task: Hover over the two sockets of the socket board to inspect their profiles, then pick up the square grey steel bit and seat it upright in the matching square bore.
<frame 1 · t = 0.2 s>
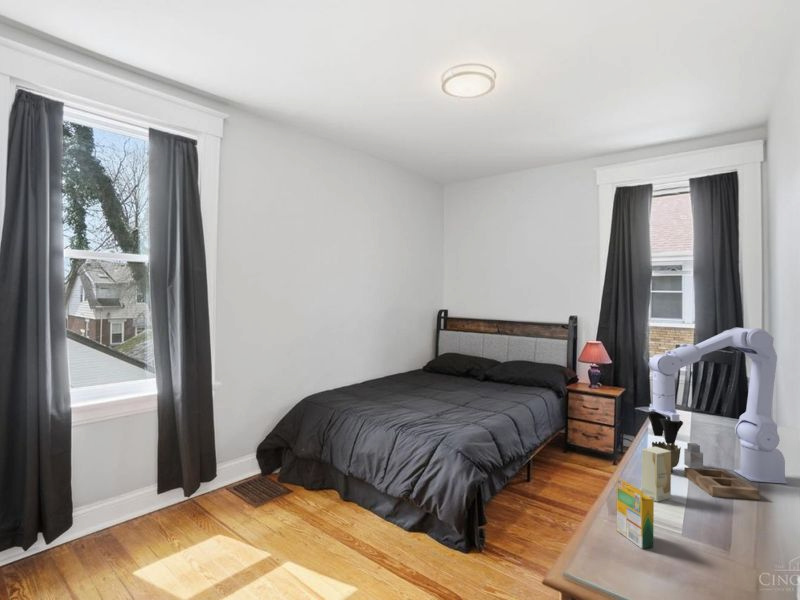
hand: (663, 439, 126), 10 cm above the table, fingers open, 7 cm apart
socket board: (719, 487, 115), on the table
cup: (666, 471, 127), on the table
crayon box: (634, 540, 88), on the table
skincare box: (656, 497, 109), on the table
steel bit: (693, 466, 131), on the table
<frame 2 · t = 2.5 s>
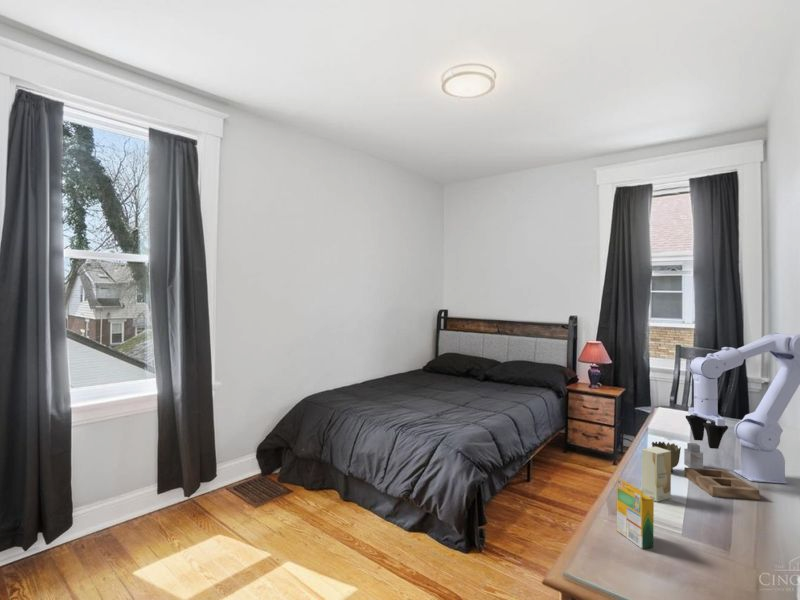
hand: (705, 444, 124), 9 cm above the table, fingers open, 7 cm apart
nothing on the table moved.
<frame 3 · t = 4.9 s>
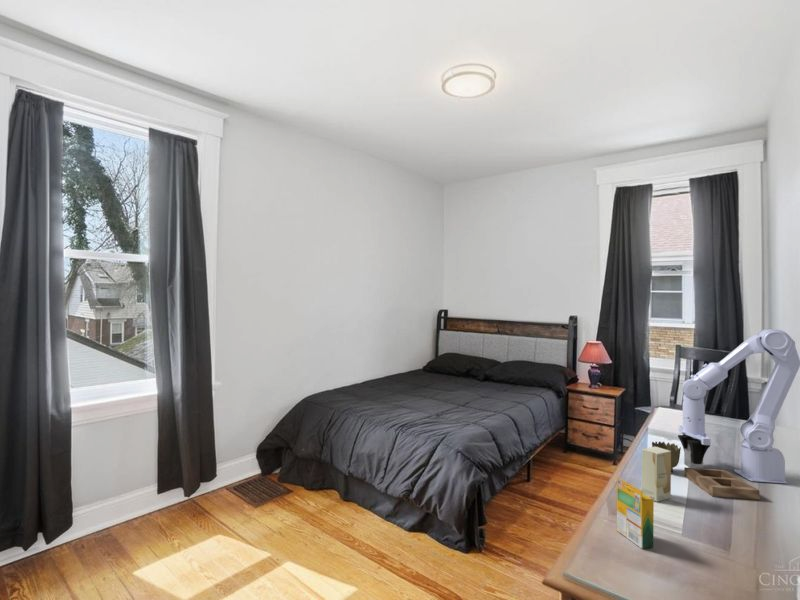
hand: (693, 461, 131), 2 cm above the table, fingers closed on steel bit, 4 cm apart
steel bit: (693, 466, 131), on the table, touching gripper
everything else where it was.
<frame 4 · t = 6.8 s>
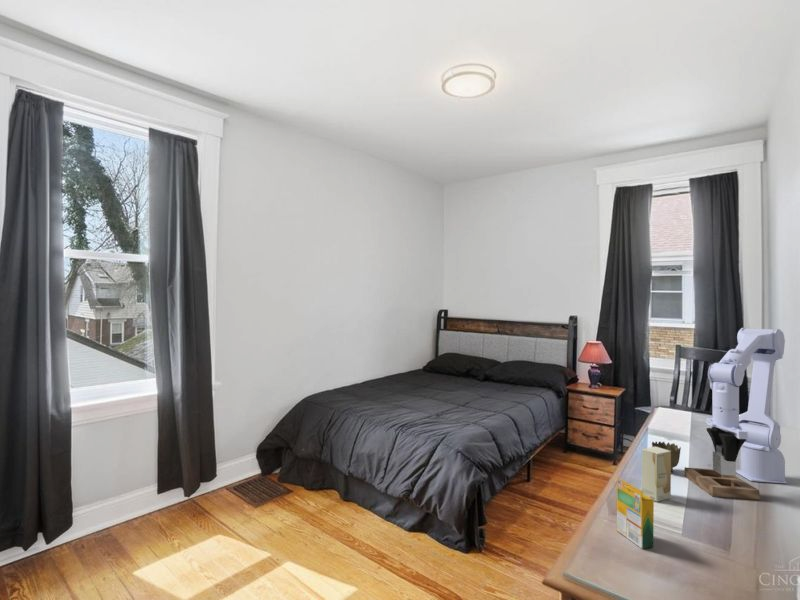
hand: (725, 458, 113), 9 cm above the table, fingers closed on steel bit, 4 cm apart
steel bit: (724, 472, 113), point 5 cm above the table, touching gripper
everything else where it was.
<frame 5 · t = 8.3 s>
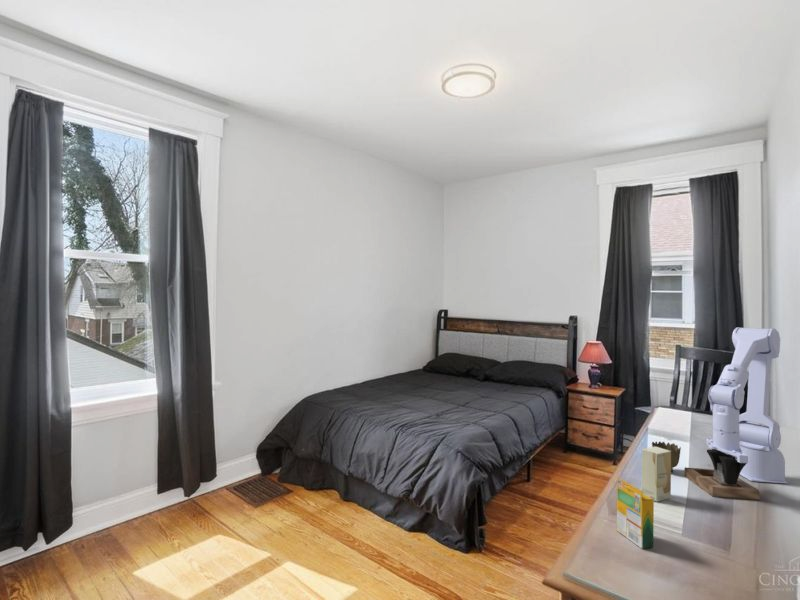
hand: (726, 480, 113), 3 cm above the table, fingers closed on steel bit, 4 cm apart
steel bit: (724, 491, 113), resting on socket board, touching gripper
everything else where it was.
when the fingers open (3 cm above the table, at t = 9.1 s): steel bit stays where it is, resting on socket board.
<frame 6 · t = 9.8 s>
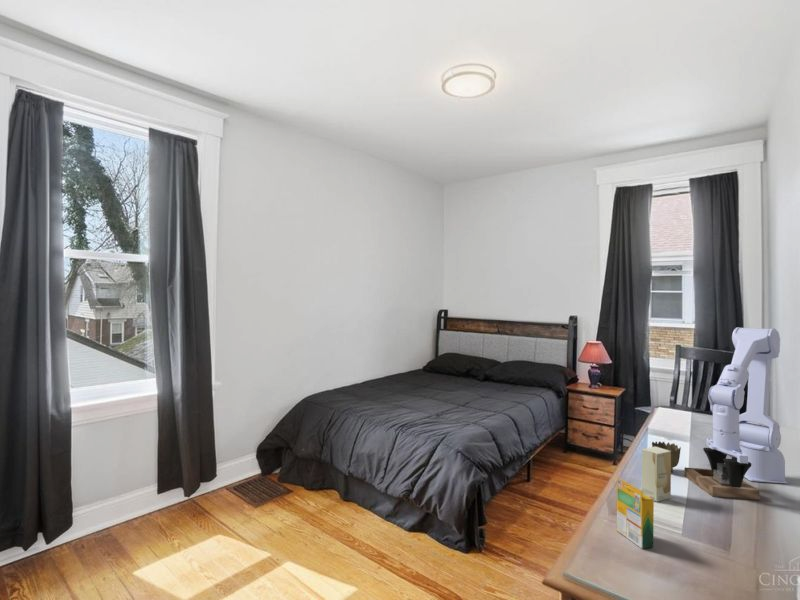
hand: (726, 480, 113), 3 cm above the table, fingers open, 7 cm apart
steel bit: (724, 491, 113), resting on socket board
everything else where it was.
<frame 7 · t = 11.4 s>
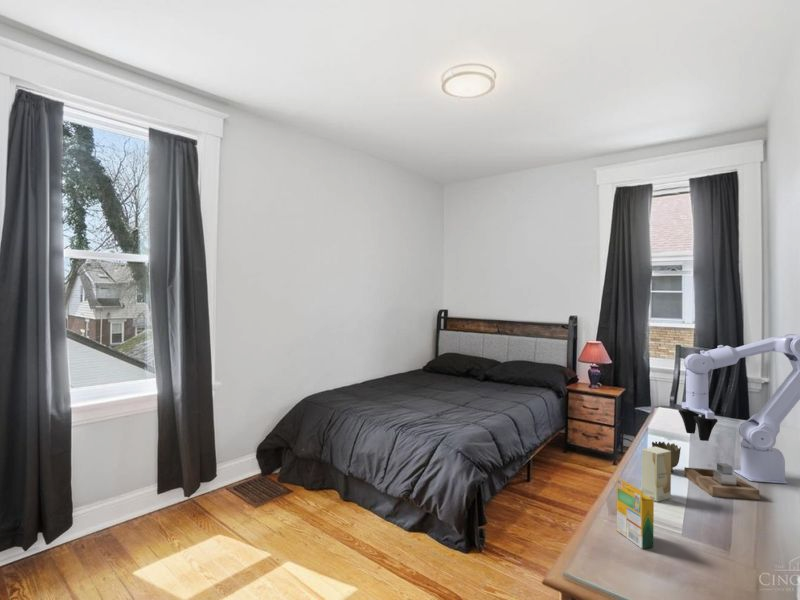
hand: (697, 436, 129), 10 cm above the table, fingers open, 7 cm apart
nothing on the table moved.
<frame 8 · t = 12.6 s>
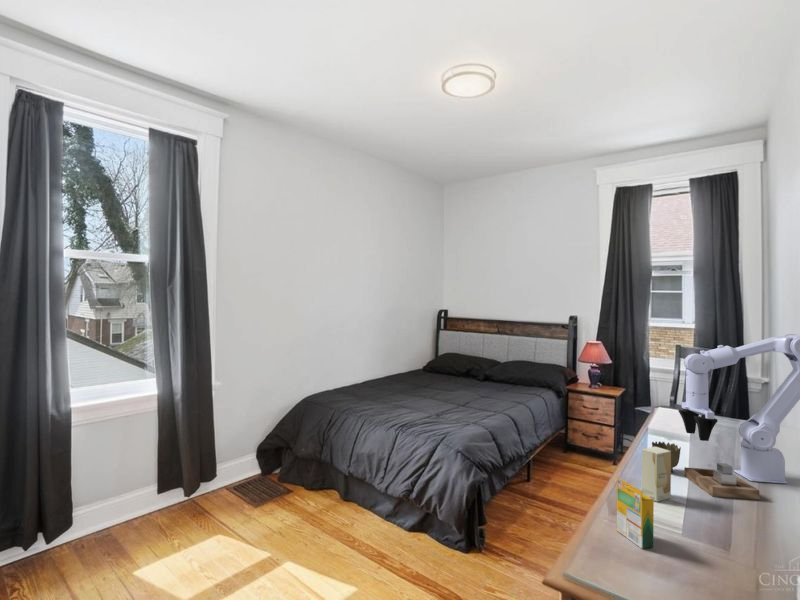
hand: (697, 436, 129), 10 cm above the table, fingers open, 7 cm apart
nothing on the table moved.
at the end: steel bit 0.4 cm from the target spot on the socket board, point 0.2 cm above the socket board's base; steel bit tilted 0°; the gripper is holding nothing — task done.
